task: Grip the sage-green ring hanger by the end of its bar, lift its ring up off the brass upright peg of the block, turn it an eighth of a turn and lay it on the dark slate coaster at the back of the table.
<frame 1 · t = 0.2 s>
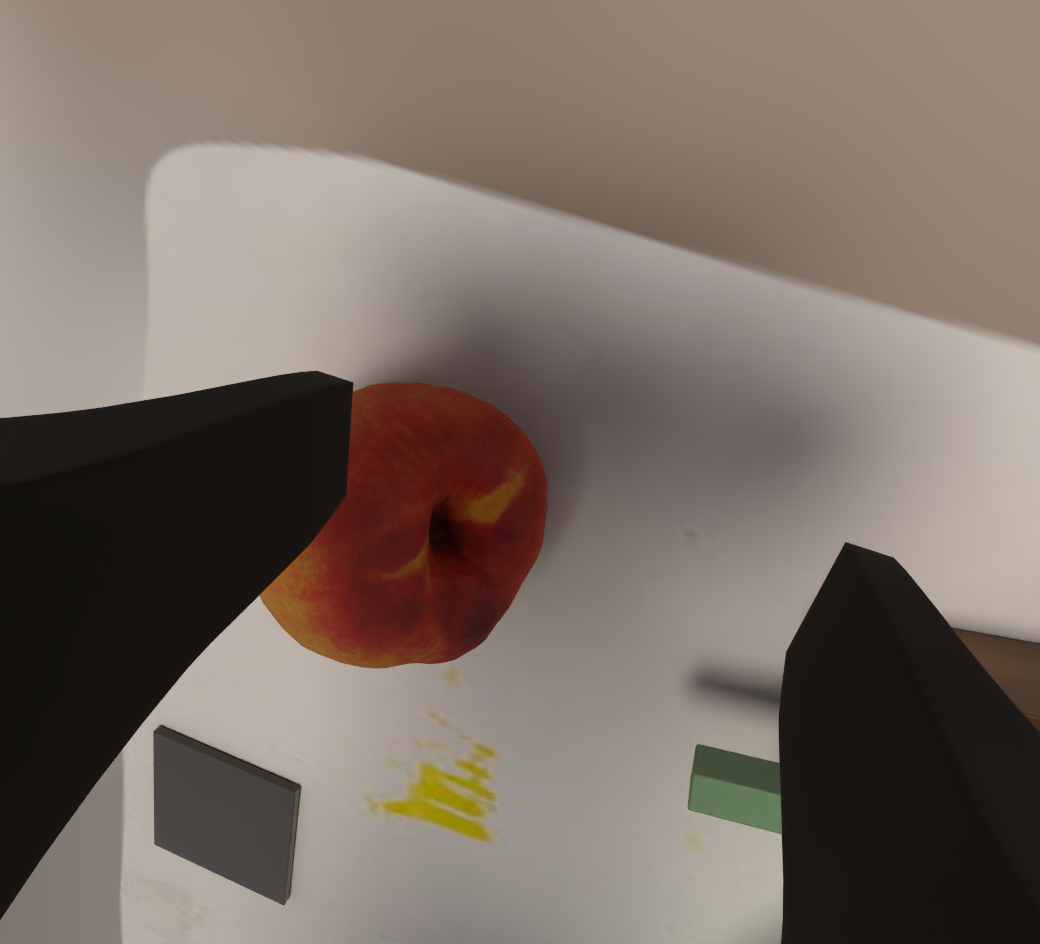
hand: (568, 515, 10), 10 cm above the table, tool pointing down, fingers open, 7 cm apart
block with upright peg: (1007, 749, 20), on the table
coaster: (225, 813, 31), on the table
fruit: (450, 477, 23), on the table
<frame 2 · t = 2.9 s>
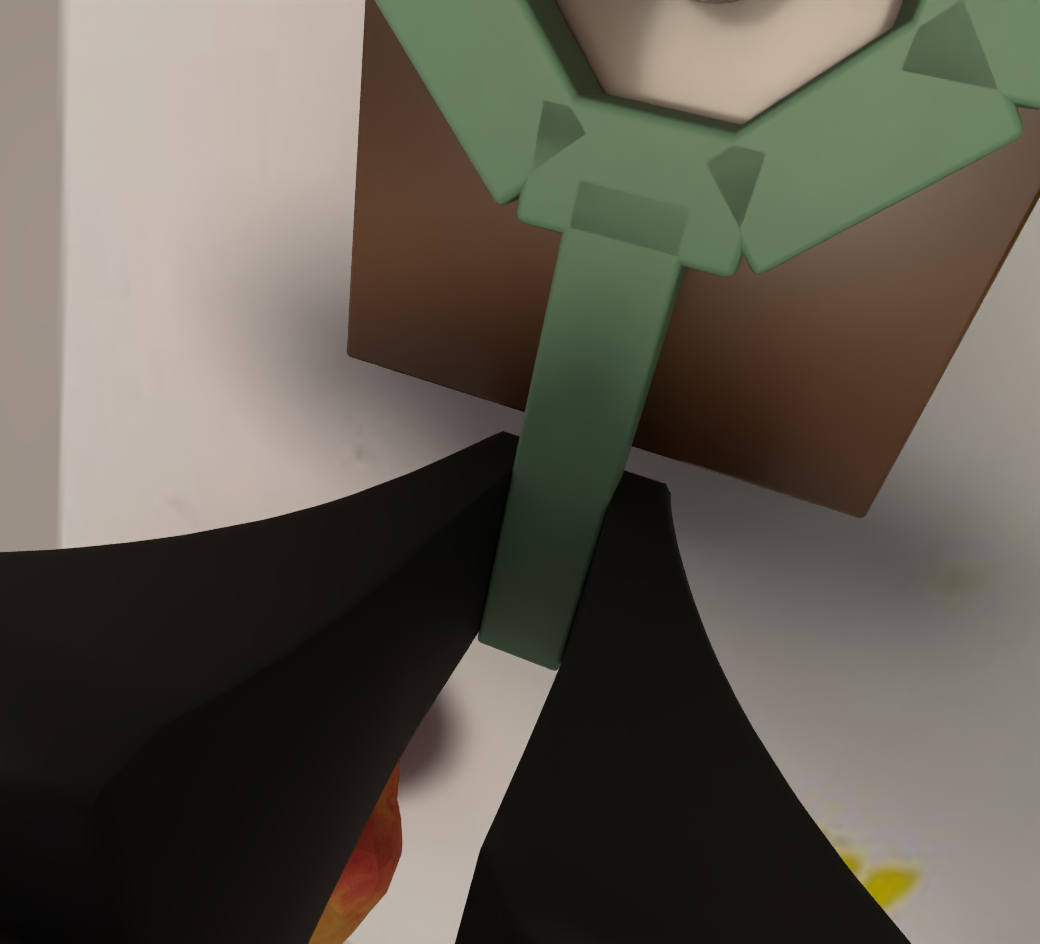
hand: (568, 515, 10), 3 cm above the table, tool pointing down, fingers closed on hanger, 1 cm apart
fruit: (327, 682, 19), on the table
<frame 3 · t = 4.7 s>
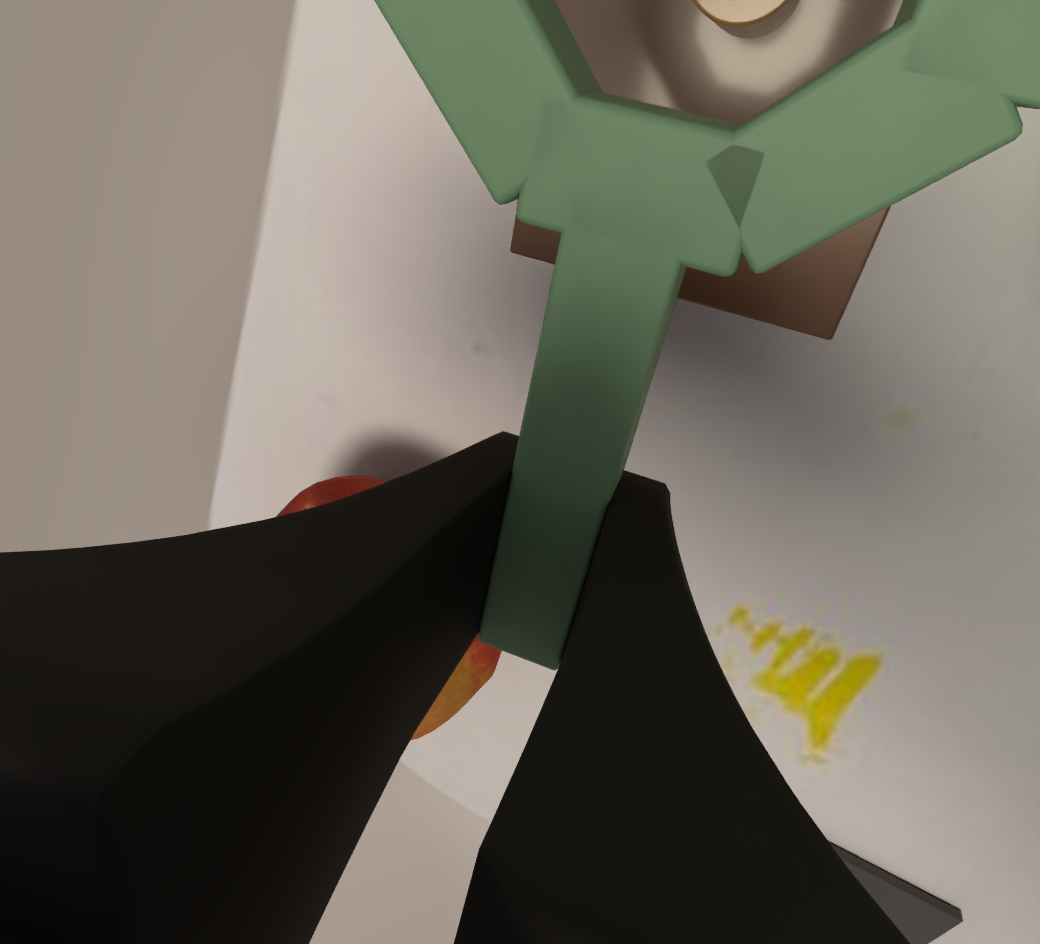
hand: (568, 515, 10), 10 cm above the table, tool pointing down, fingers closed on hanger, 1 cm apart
block with upright peg: (761, 1, 15), on the table
coaster: (815, 905, 27), on the table
fruit: (432, 542, 25), on the table
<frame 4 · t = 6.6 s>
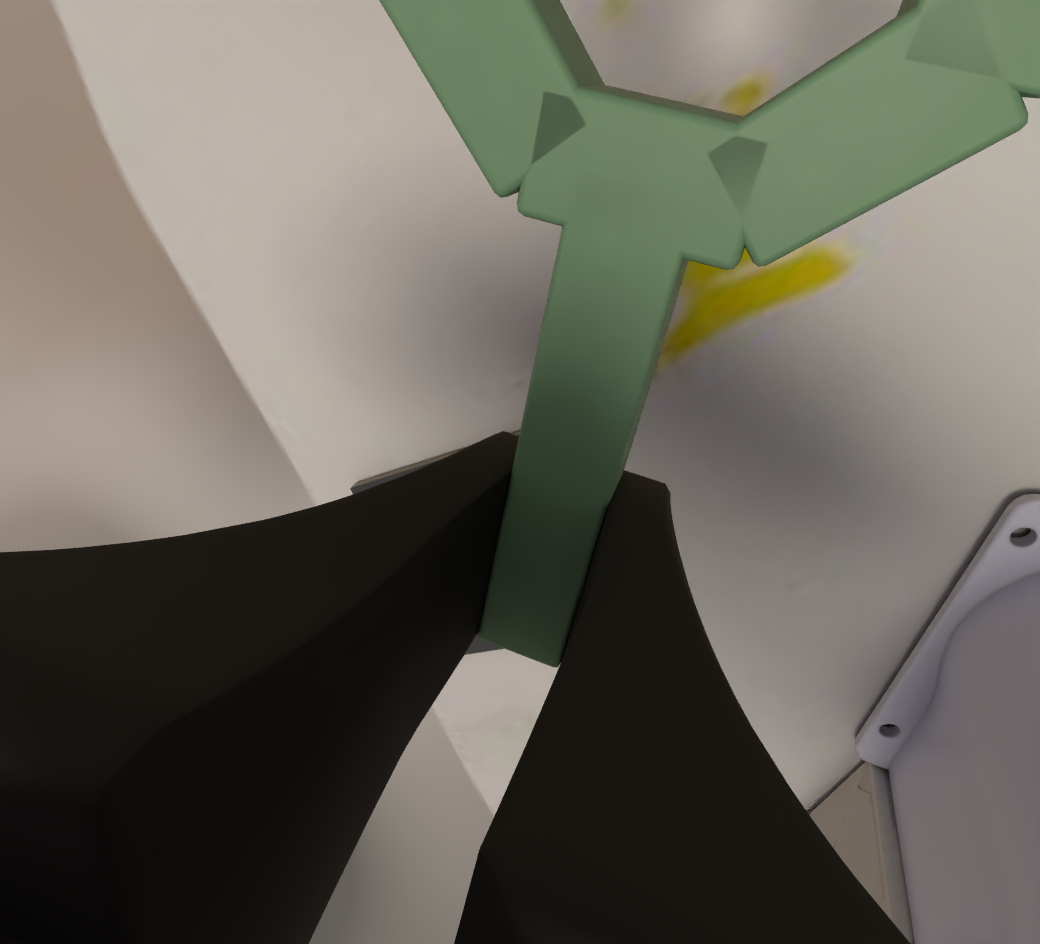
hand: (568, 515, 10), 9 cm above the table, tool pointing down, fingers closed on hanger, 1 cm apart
light bulb box: (769, 926, 22), point 3 cm above the table, touching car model
coaster: (493, 550, 22), on the table
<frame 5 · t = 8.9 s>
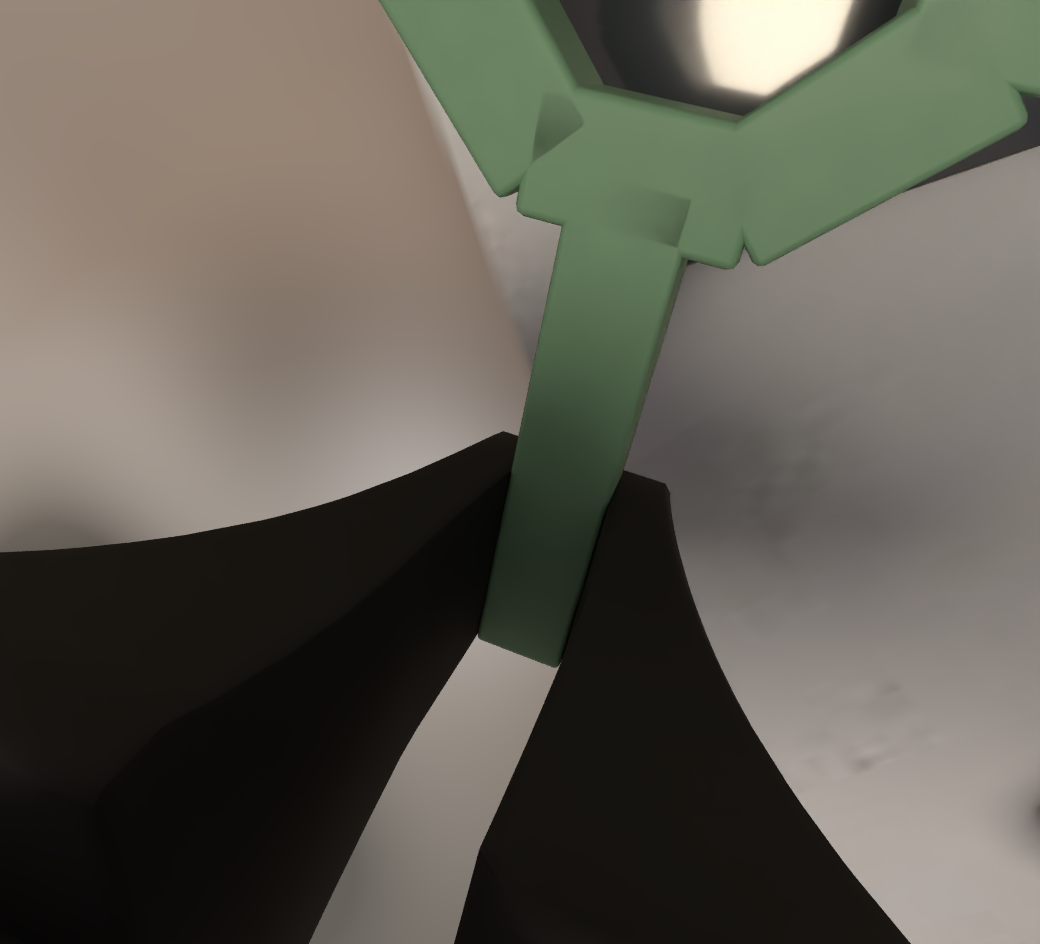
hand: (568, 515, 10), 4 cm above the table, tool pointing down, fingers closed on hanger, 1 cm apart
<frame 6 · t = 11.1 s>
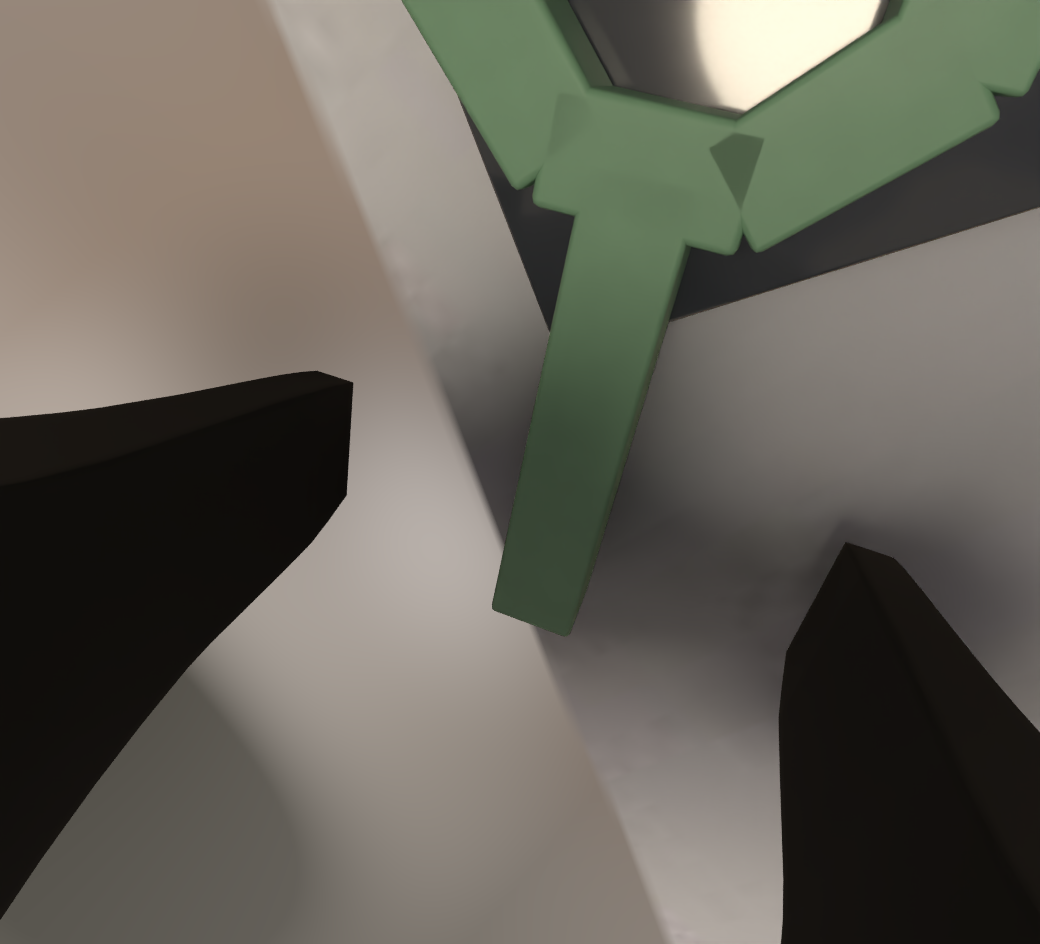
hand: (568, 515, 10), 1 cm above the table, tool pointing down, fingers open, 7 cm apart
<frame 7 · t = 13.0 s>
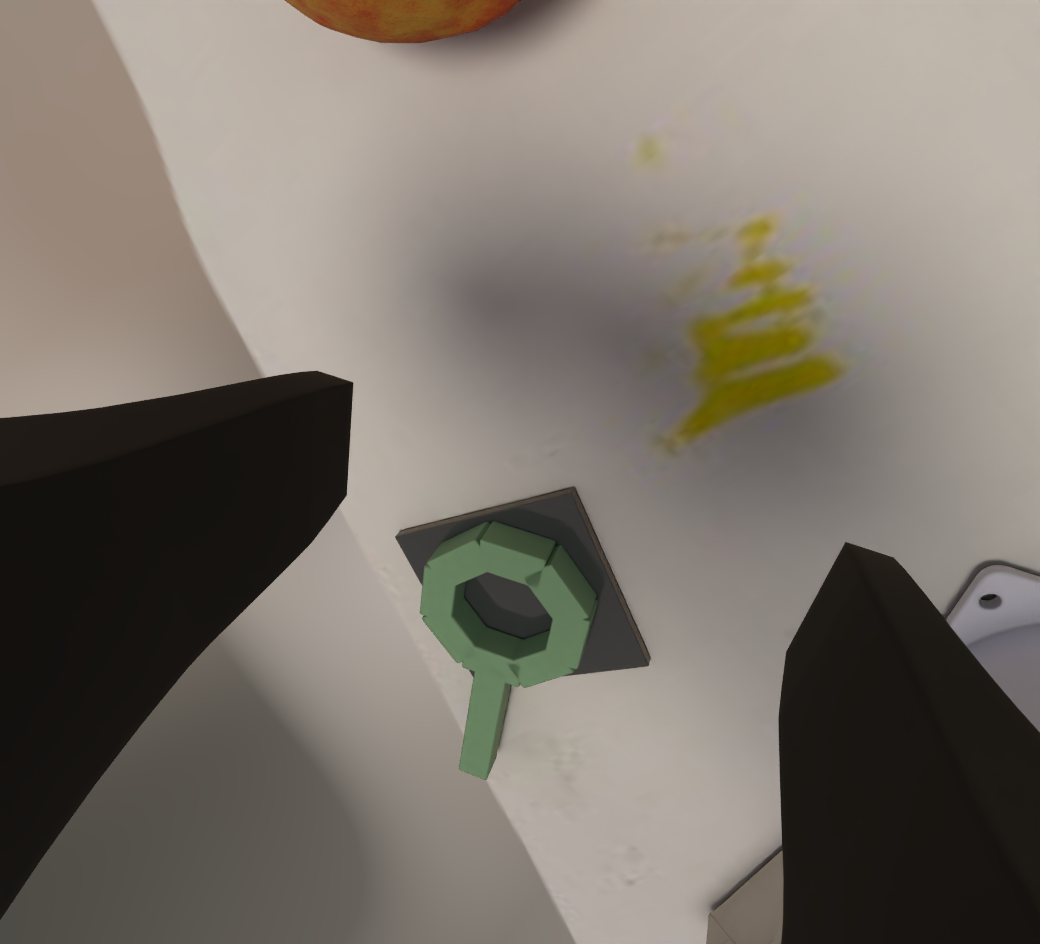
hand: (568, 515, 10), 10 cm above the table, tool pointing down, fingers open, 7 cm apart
light bulb box: (765, 932, 24), point 3 cm above the table, touching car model
coaster: (522, 593, 25), on the table
hanger: (511, 596, 25), resting on coaster
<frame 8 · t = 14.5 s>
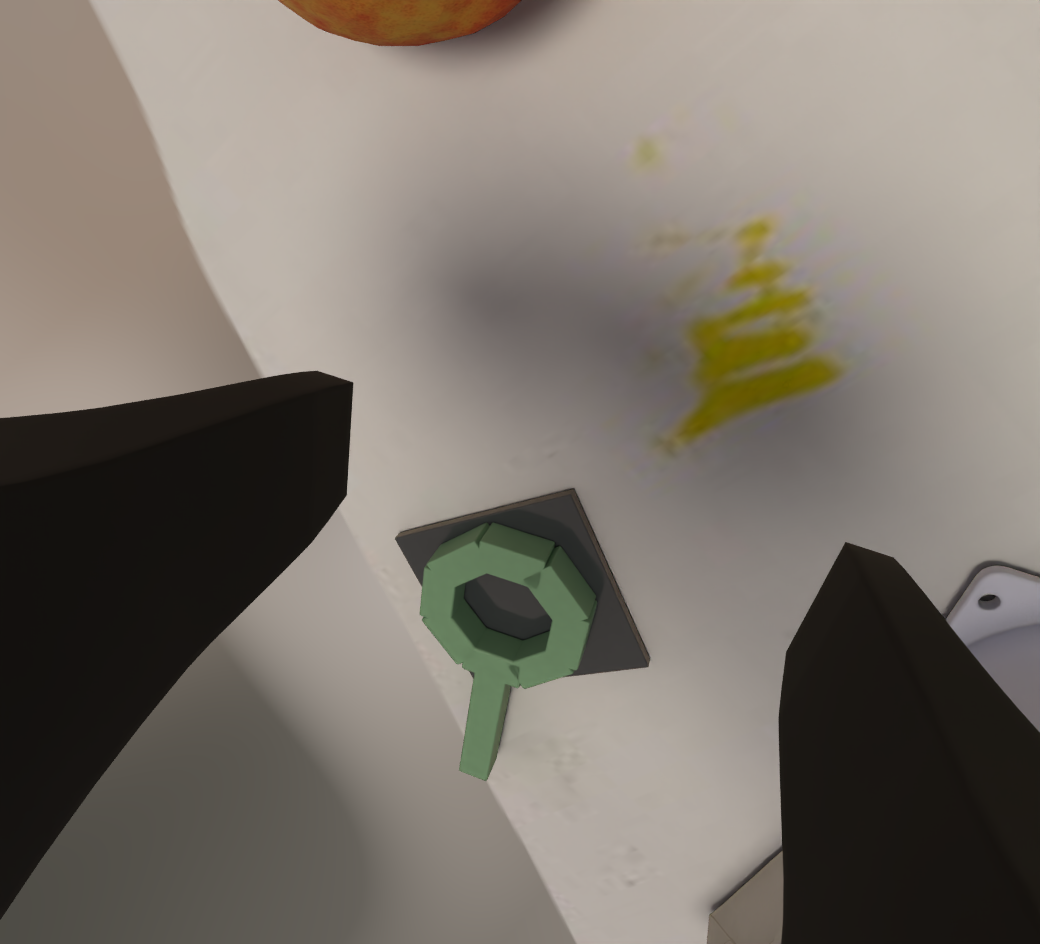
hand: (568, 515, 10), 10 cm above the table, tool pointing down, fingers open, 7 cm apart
light bulb box: (765, 932, 24), point 3 cm above the table, touching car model
coaster: (522, 594, 25), on the table
hanger: (511, 597, 25), resting on coaster
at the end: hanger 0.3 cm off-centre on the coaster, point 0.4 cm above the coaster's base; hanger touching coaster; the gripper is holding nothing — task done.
